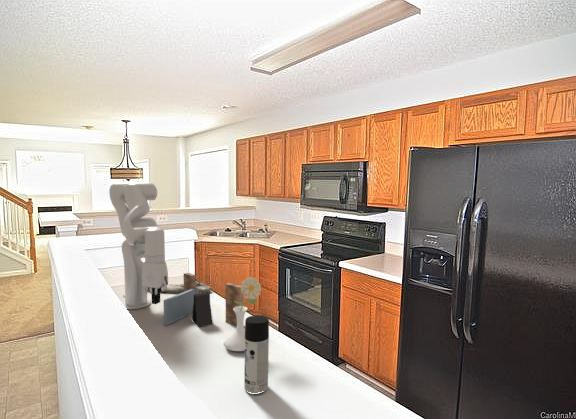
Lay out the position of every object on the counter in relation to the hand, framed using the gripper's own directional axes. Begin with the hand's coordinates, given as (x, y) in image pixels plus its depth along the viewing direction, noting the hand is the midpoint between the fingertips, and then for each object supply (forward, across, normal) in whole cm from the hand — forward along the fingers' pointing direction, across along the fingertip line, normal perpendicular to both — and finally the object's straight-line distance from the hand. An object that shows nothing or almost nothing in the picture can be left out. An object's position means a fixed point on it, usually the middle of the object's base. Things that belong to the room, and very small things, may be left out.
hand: (156, 302), depth 141 cm
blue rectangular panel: (+8, +6, +8) cm, 13 cm away
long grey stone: (+8, -19, +37) cm, 42 cm away
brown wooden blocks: (+8, +16, +15) cm, 24 cm away
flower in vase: (+9, +43, -5) cm, 44 cm away
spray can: (+9, +58, -25) cm, 64 cm away
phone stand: (+8, +17, +8) cm, 20 cm away
